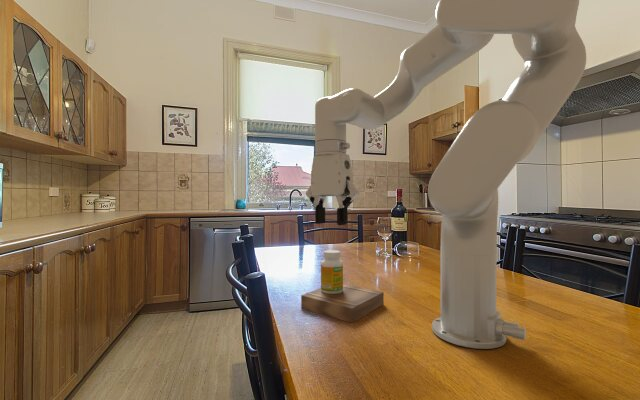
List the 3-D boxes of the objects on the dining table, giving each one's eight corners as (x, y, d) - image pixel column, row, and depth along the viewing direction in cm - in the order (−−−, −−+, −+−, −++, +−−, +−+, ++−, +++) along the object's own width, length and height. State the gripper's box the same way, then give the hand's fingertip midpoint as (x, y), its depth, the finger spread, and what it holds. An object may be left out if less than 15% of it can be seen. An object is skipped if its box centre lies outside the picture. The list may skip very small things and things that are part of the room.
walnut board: (383, 304, 75) (383, 291, 75) (351, 322, 64) (351, 307, 64) (336, 293, 84) (336, 282, 84) (301, 308, 73) (301, 294, 73)
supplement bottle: (334, 295, 72) (334, 254, 72) (316, 291, 76) (316, 251, 76) (347, 290, 77) (347, 250, 77) (329, 286, 80) (329, 248, 80)
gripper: (369, 148, 74) (369, 224, 74) (313, 154, 85) (313, 221, 85) (352, 144, 68) (352, 227, 68) (294, 151, 79) (294, 223, 79)
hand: (330, 223), depth 76 cm, fingers open, 5 cm apart
